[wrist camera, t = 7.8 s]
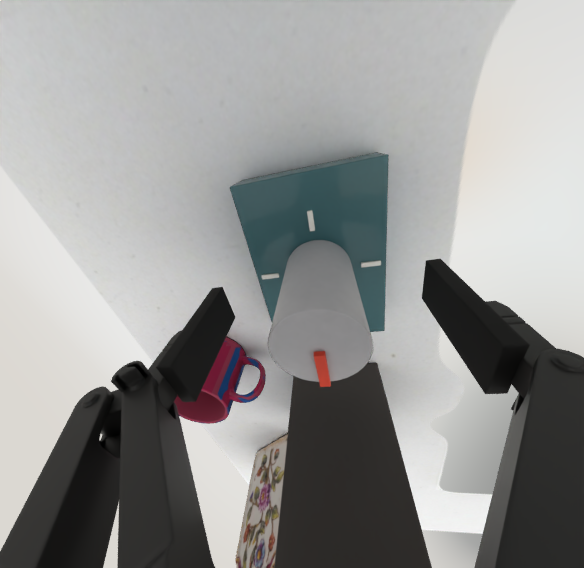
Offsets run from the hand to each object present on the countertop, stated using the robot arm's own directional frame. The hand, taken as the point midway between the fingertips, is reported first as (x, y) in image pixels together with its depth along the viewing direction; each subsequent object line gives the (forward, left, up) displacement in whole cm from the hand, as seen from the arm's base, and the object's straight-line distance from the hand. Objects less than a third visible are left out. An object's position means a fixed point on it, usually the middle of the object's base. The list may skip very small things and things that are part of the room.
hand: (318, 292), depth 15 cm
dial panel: (0, 0, -6) cm, 6 cm away
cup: (+12, -12, -6) cm, 18 cm away
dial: (0, 0, -3) cm, 3 cm away
